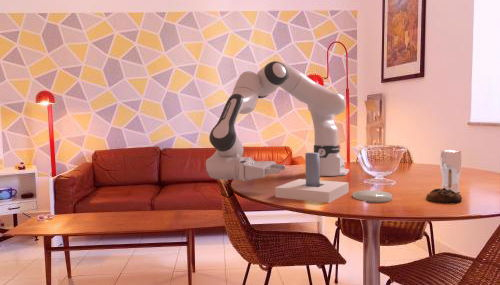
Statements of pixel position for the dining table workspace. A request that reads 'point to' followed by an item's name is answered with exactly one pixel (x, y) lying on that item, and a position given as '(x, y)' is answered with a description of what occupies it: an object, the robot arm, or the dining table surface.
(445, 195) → the bread roll
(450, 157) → the white tall piece
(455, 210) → the dining table surface
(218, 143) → the robot arm
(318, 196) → the pocket block
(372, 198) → the sage trivet
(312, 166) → the slate peg
